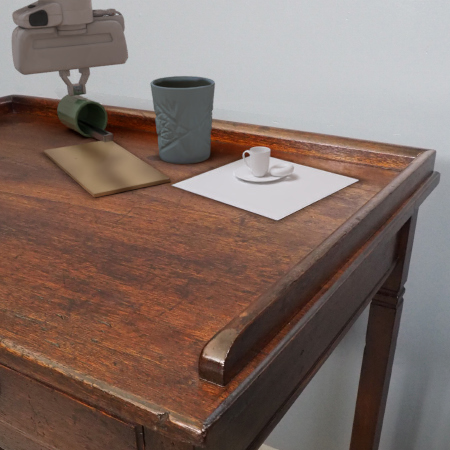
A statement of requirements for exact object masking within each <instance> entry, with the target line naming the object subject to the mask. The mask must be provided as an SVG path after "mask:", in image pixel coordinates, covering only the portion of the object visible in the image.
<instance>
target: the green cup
mask: <svg viewBox="0 0 450 450" xmlns="http://www.w3.org/2000/svg"><path fill="white" fill-rule="evenodd" d="M56 109H57V110H56V115H57V117H58V119H59V121H60V123H61V124H62V125H63V126H65V127H66V128H68V129H70V130H72V131H74V132H76V133H77V134H79V135H81V136H83V137H85V138H86V137H87V138H94V137H93V136H91V135H89V134H87V133H85V132H83V131H81V130H80V128H79V127H78V124H77V121H78V122H80V119H83V120H85V121H87V122H89V123H91V124H94V125H96V126H98V127H100V128H102V129H104V130H106V127H107V125H108V122H109V121H108V120H109V118H108V112H107V110H106V109H105V107H104V105H102V104H101V103H100V102H98V101H96V100H93V99H91V98H89V97H86V96H84V95H75V96H70V95H69V94H68V93H67V94H65V95H64V96H63V97H62V98H61V99H60V100H59V102H58V104H57V107H56Z"/></svg>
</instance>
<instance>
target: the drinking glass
mask: <svg viewBox="0 0 450 450" xmlns="http://www.w3.org/2000/svg"><path fill="white" fill-rule="evenodd" d="M149 85H150V91H151V97H152V105H153V110H154V114H155V118H154V121H155V128H156V134H157V145H158V155H159V158H160V160H161V161H163V162H166V163H169V164H175V165H177V164H178V165H190V164H197V163H200V162H204V161H206V160H208V159H209V158H210V156H211V147H212V144H211V142H212V135H211V133H212V129H213V110H214V99H215V87H216V83H215V80H214V79H211V78H208V77H205V76H204V77H203V76H195V75H194V76H193V75H175V76H165V77H159V78H156V79H152V80H151V81H150V84H149Z"/></svg>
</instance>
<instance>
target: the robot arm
mask: <svg viewBox="0 0 450 450" xmlns="http://www.w3.org/2000/svg"><path fill="white" fill-rule="evenodd" d="M11 15H12V16H11V17H12V21H13V23H14V24H15V25H16V27H14V29H13V30H12V33H11V54H12V62H13V67H14V69H15V71H17V72H18V73H19V74H22V75H23V76H28V75H29V76H30V75H37V74H45V73H55V72H58V76H59V77H60V78H61V80H62V81H63V82H64V84H65V85H66V90H67V95H68V94H69V95H70V96H75V95H82V96H84V95H86V94H87V88H86V85H87V83H88V80H89V78H90V76H91V70H90V68H98V67H100V68H101V67H107V66H115V65H116V66H117V65H124V64H126V63H127V61H128V58H129V51H128V50H129V49H128V45H127V40H126V37H125V29H126V27H125V17H124V15H123V14H122V13H121V12H120V11H119V10H116V8H107V9H103V8H102V9H101V8H100V9H99V8H98V9H93V3H92V0H36V1H35V2H32V3H30V4H28V5H25V6H23V7H21V8H18V9H15V10H14V11H13V12H12V14H11ZM71 70H78V73H79V74H81V75H80V78H79V80H78V82H77V83H72V81H71V80H70V78H69V77H71V72H70V71H71Z"/></svg>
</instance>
